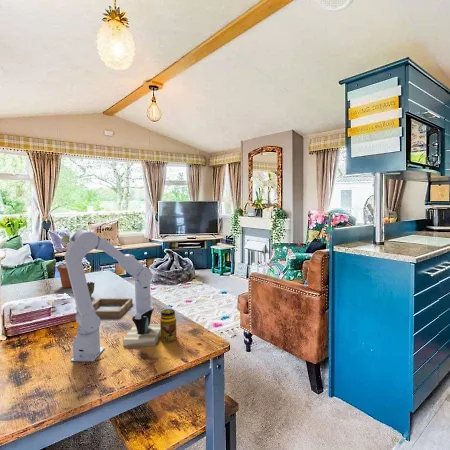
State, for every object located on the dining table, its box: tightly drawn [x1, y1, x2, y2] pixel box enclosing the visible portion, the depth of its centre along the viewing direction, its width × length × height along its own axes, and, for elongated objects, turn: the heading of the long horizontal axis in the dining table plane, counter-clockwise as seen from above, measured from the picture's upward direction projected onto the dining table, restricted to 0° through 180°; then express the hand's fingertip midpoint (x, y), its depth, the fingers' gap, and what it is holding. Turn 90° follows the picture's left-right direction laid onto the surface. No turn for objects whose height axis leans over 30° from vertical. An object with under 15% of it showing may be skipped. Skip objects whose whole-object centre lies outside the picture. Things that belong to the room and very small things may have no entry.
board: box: [122, 323, 161, 347], centre depth 123 cm, size 14×12×2 cm
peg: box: [144, 316, 149, 334], centre depth 122 cm, size 4×4×8 cm
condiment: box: [159, 308, 177, 344], centre depth 121 cm, size 7×8×12 cm
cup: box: [87, 281, 96, 298], centre depth 172 cm, size 8×7×8 cm
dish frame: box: [92, 297, 134, 319], centre depth 152 cm, size 18×17×3 cm
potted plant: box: [57, 235, 72, 289], centre depth 195 cm, size 16×15×35 cm
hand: (144, 329), depth 122 cm, fingers open, 7 cm apart
